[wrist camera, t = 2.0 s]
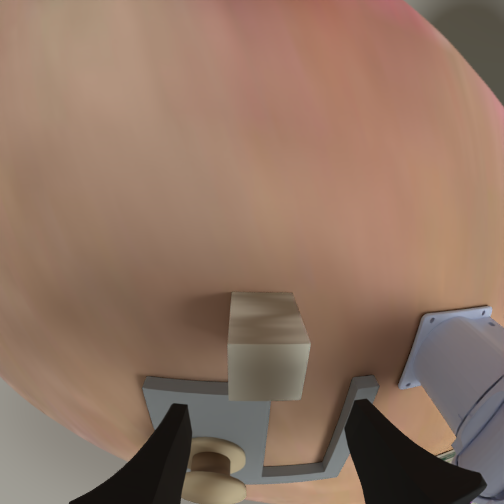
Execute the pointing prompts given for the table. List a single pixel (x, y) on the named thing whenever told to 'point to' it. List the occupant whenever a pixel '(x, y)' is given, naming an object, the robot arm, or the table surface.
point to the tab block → (266, 347)
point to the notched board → (249, 425)
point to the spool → (214, 472)
